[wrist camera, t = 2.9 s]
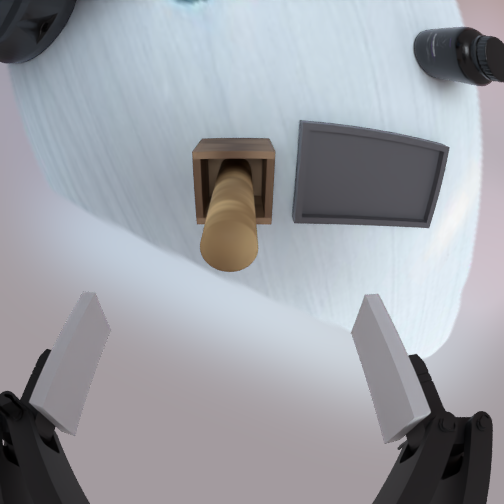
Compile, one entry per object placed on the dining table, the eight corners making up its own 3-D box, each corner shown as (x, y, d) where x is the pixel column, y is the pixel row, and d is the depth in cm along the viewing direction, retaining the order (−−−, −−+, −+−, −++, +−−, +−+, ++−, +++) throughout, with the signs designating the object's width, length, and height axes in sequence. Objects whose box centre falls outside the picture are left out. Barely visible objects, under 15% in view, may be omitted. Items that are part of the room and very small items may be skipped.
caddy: (204, 198, 33) (197, 224, 28) (202, 138, 29) (192, 152, 24) (266, 198, 34) (271, 224, 28) (269, 138, 30) (275, 151, 24)
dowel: (219, 185, 32) (202, 271, 18) (218, 155, 30) (197, 222, 16) (251, 185, 32) (257, 271, 19) (251, 155, 30) (259, 222, 17)
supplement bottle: (403, 36, 22) (468, 29, 12) (439, 26, 20) (503, 22, 10) (425, 85, 25) (492, 98, 15) (459, 72, 23) (523, 84, 13)
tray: (292, 216, 35) (294, 223, 34) (299, 120, 28) (302, 122, 27) (423, 222, 36) (429, 228, 34) (441, 143, 29) (449, 147, 28)
